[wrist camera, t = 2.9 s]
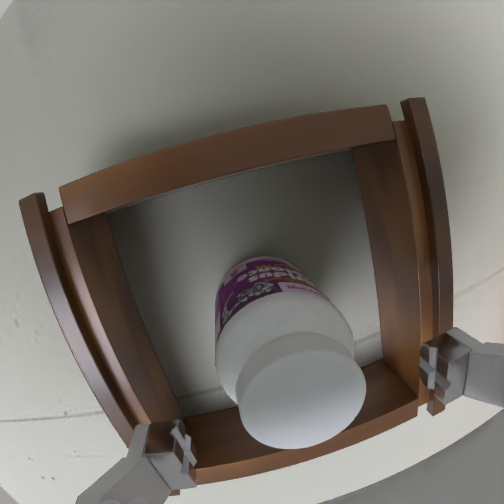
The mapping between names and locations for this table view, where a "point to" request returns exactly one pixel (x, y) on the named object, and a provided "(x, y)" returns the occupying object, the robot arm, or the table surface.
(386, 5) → the table surface
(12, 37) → the table surface
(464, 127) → the table surface
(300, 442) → the pill bottle
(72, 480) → the table surface
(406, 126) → the wooden square frame
